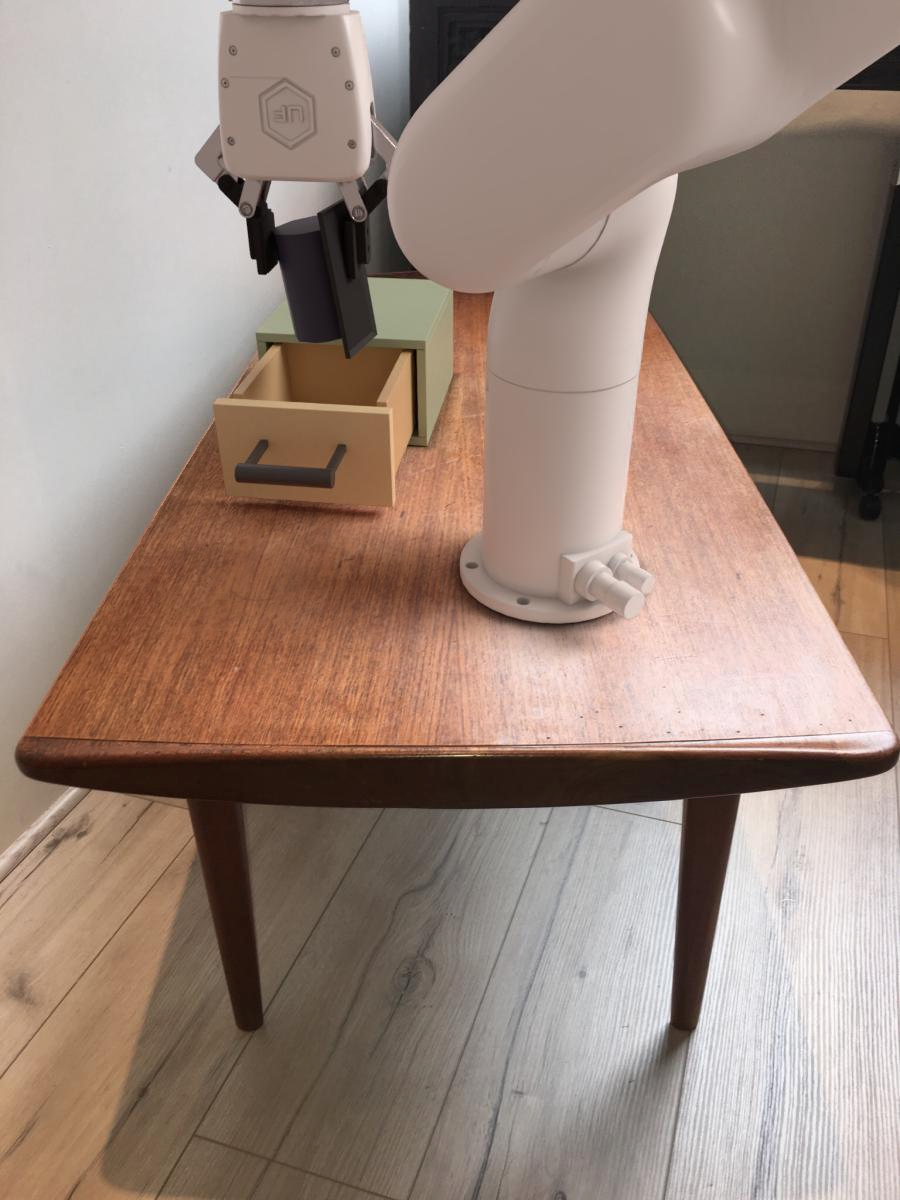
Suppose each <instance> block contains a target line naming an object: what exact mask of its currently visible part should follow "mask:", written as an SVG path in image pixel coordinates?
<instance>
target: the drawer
mask: <svg viewBox="0 0 900 1200" xmlns="http://www.w3.org/2000/svg"><path fill="white" fill-rule="evenodd" d="M212 408H213V409H212V410H213V415H214V422H215V428H216V429H215V430H216V436H217V442H218V449H219V456H220V463H221V470H222V476H223V483H224V491H225V496H226V497H233V498H247V499H248V498H249V499H250V498H251V499H261V500H262V499H263V500H264V499H265V500H278V501H279V500H280V501H293V502H294V501H295V502H308V503H321V504H335V505H336V504H339V505H351V506H364V507H365V506H366V507H379V508H381V507H382V508H394V506H395V504H396V500H397V493H396V492H397V491H396V474H397V472H398V469H399V467H400V464H401V461H402V460H403V458H404V454H405V452H406V450H407V447H408V446H409V445H408V442H409V440H410V437H411V435H412V432H413V430H414V427H415V425H416V422H417V375H416V349H403V348H383V347H363V348H362V349H361V350H360V351H359V352H358V353H357V354H356V355H354V356H353V357H352V358H351V359H346V357H345V352H344V347H343V345H323V344H303V343H282V342H274V344H273V345H272V346H271V347H270V349H269V350H268V351H267V352H266V354H265V355H264V356H263V357H262V358H261V360H260V361H259V360H258V362H257V363H256V364H255V366H254V367H253V368H252V369H251V370H250V372H249V373H248V374H247V376H246V377H245V378H244V379H243V380H242V381H241V383H240V385H238V387H237V388H236V389H235V390H234V391H233V393H232V398H229V397H217V398H216V400H215V401H214V402H213V403H212Z"/></svg>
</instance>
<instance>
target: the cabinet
mask: <svg viewBox="0 0 900 1200" xmlns="http://www.w3.org/2000/svg"><path fill="white" fill-rule="evenodd" d="M367 278H368V284H369V290H370V295H371V301H372V306H373V312H374V317H375V323H376V329H377V334H378V335H377V336H375V337H374V338H373V339H372V340H371V341H370V342H369V343H368V344H367V345H365V346H364V347H383V348H403V349H416V375H417V422H416V425H415V427H414V430H413V432H412V435H411V437H410V440H409V442H408V445H407V446H418V447H420V446H421V447H428V445H429V442H430V440H431V437H432V434H433V432H434V429H435V426H436V423H437V421H438V418H439V415H440V412H441V410H442V407H443V404H444V401H445V398H446V396H447V393H448V390H449V388H450V385H451V382H452V380H453V376H454V290H451V289H448V288H445V287H443V286H441V285H439V284H437V283H435V282H433V281H431V280H430V279H419V278H417V279H416V278H396V277H395V278H393V277H392V278H391V277H369V276H367ZM255 341H256V350H257V357H258V358H257V359H258V362H259V361H260V360H261V358H262V357H263V356H264V355H265V354H266V352H267V351H268V350H269V349H270V347H271V346H272V345H273V344H274V342H282V343H303V344H323V345H343V342H342V339H338V340H334V341H330V342H324V343H308V342H299V341H298V339H297V338H296V336H295V333H294V328H293V324H292V319H291V315H290V310H289V306H288V301H287V297H285V298H284V299H283V300H282V301H281V303H279V304H278V306H277V307H276V309H274V311H273V312H272V313H270V315H269V316H268V318H267V319H266V320H265V321H264V322H263V323H262V324H261V325H260V326H259V327H258V329H257V330H256V331H255Z"/></svg>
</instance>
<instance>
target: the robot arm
mask: <svg viewBox="0 0 900 1200" xmlns="http://www.w3.org/2000/svg"><path fill="white" fill-rule="evenodd" d="M228 2H231V10H225V11H220V12H219V17H218V18H219V19H218V33H217V34H218V35H217V94H218V95H217V97H218V98H217V99H218V118H219V124H218V125H217V127H216V128H215V129H214V131H213V132H212V133H211V135H209V137H208V139H207V140H206V141H205V142H204V144H203V145H202V147H200V149H199V150H198V152H197V153H196V154H195V156H194V164H195V165H196V167H198V169H199V170H200V171H201V172H202V173H203V174H205V175H206V177H208V179H210V180H211V181H212V182H213V183H215V184H216V185H217V187H218V189H219V191H220V192H221V193H222V194H223V195H224V196H225V197H226V198H227V199H228V200H230V202H232V204H233V205H234V206H235V207H236V208H237V209H238V210H237V211H238V213H239V215H240V216H241V217H243V218H245V223H246V233H247V240H248V241H247V242H248V249H249V250H248V251H249V257H250V259H251V260H252V261H253V260H254V261H255V262H256V263H255V264H256V271H257V275H259V276H267V275H268V274H269V273H270V272H272V270H273V269H274V268H275V267H276V266H277V265H278V264H279V261H278V256H277V251H276V247H275V242H274V238H273V233H272V230H273V229H274V228H275V227H276V221H275V212H274V211H273V210H272V208H269V205H268V202H267V199H268V196H269V192H270V189H271V185H272V182H273V181H274V182H299V183H300V182H301V183H302V182H303V183H335V184H336V185H337V188H338V190H339V192H340V195H341V197H342V198H343V199H344V201H345V204H346V206H347V209H348V219H347V220H346V221H345V223H344V244H345V261H346V274H347V276H348V277H349V278H350V279H357V278H358V276H359V275H360V274H361V272H362V271H363V269H364V264H365V265H369V264H370V263H371V260H372V243H371V223H370V215H371V214H372V213H373V211H374V210H375V209H376V208H377V207H378V206H379V205H380V204H381V203H382V202H383V200H384V199H385V198H386V202H387V211H388V217H389V222H390V227H391V229H392V232H393V233H392V234H393V235H394V238H395V240H396V242H397V245H398V247H399V248H400V250H401V252H402V253H403V255H404V257H405V258H406V259H407V260H408V262H409V263H410V264H411V265H412V266H413V268H414V269H416V270H417V271H418V272H419V273H420V274H421V275H422V276H423V277H426V279H427V280H431V281H433V282H435V283H437V284H439V285H441V286H443V287H445V288H448V289H451V290H453V292H454V291H455V292H459V293H466V294H487V293H493V295H492V301H491V306H490V310H489V315H488V324H487V333H486V353H485V354H486V355H485V358H486V359H485V382H484V384H485V385H484V386H485V388H484V389H485V390H484V391H485V392H484V430H483V431H484V435H483V438H484V439H483V480H482V481H483V482H482V483H483V484H482V485H483V487H482V488H483V489H482V530H481V531H479V532H478V533H476V534H475V535H473V536H472V537H471V538H470V539H469V541H467V542H466V543H465V545H464V547H463V549H462V550H461V553H460V558H459V576H460V579H461V581H462V585H463V586H464V588H465V589H466V590H467V592H468V593H469V594H470V595H471V596H472V597H473V598H474V599H475V600H477V602H479V603H480V604H482V605H484V606H485V607H487V608H489V609H491V610H492V611H494V612H497V613H500V614H503V615H504V616H507V617H510V618H514V619H518V620H522V621H525V622H526V621H527V622H533V623H540V624H571V623H573V624H574V623H580V622H584V621H585V622H586V621H590V620H594V619H597V618H600V617H603V616H606V615H608V614H611V613H612V612H614V613H616V614H617V615H619V616H620V617H622V618H624V619H625V620H628V621H630V620H633V619H635V618H636V617H638V615H640V613H642V611H643V609H644V606H645V603H646V596H645V595H647V594H649V593H650V592H652V590H653V589H654V588H655V585H656V583H657V578H656V576H655V575H654V574H653V573H650V572H649V571H647V570H645V569H643V568H642V567H641V566H640V562H639V558H638V556H637V554H636V553H635V551H634V550H633V540H634V535H633V534H632V533H630V532H628V531H626V530H624V529H623V521H624V513H625V504H626V495H627V486H628V478H629V470H630V469H629V468H630V459H631V451H632V444H633V443H632V442H633V433H634V424H635V415H636V405H637V399H638V398H637V397H638V388H639V380H640V372H641V366H642V359H643V358H642V357H643V350H644V349H643V348H644V341H645V332H646V327H647V326H646V325H647V318H648V313H649V312H648V311H649V306H650V299H651V294H652V291H653V285H654V279H655V274H656V271H657V268H658V267H657V266H658V263H659V259H660V256H661V252H662V248H663V245H664V242H665V238H666V235H667V230H668V227H669V223H670V220H671V216H672V212H673V208H674V204H675V199H676V195H677V194H676V193H677V188H678V180H679V174H680V173H682V172H686V171H690V170H692V169H696V168H699V167H702V166H705V165H708V164H711V163H715V162H718V161H722V160H723V159H724V160H725V159H726V158H730V157H732V156H734V155H737V154H740V153H743V152H746V151H748V150H750V149H754V147H757V146H759V145H761V144H762V143H764V142H766V141H767V140H769V139H770V138H771V137H773V136H774V135H776V134H777V133H778V132H780V131H781V130H782V129H783V128H785V127H786V126H787V125H789V124H790V123H791V122H793V121H794V120H795V119H796V118H798V117H799V116H801V115H802V114H803V113H804V112H806V111H807V110H808V109H810V108H811V107H812V106H814V105H815V104H816V103H818V102H819V101H820V100H822V99H823V98H824V97H826V96H827V95H829V94H830V93H832V92H833V91H835V90H836V89H837V88H839V87H840V86H842V85H843V84H844V83H845V84H846V82H848V81H849V80H850V79H852V78H853V77H856V75H858V74H859V73H861V72H862V71H863V70H865V69H866V68H868V67H870V66H871V65H872V64H874V63H875V62H877V61H878V60H879V59H881V58H882V57H884V56H885V55H887V54H888V53H890V52H891V51H893V50H894V49H896V48H897V47H898V46H900V0H519V1H518V2H517V3H516V4H515V5H514V6H513V7H512V8H511V10H510V11H508V12H507V14H506V15H504V17H502V18H501V20H500V21H498V23H497V24H496V25H495V26H494V27H493V28H492V29H491V30H490V31H489V33H487V34H486V35H485V37H484V38H483V39H482V40H481V41H480V42H479V43H478V44H477V45H476V46H475V47H474V48H473V49H472V50H471V51H470V52H469V53H468V54H467V55H466V57H464V59H462V61H460V62H459V64H458V65H457V66H456V67H455V68H454V69H452V71H451V72H450V73H449V74H448V75H447V76H446V77H445V78H444V80H442V82H441V83H440V84H438V86H436V88H435V89H434V90H433V91H432V92H430V94H429V95H428V96H427V98H426V99H425V100H423V102H422V104H420V105H419V107H418V108H417V110H415V112H414V114H413V115H412V117H411V118H410V120H409V121H408V122H407V124H406V126H405V128H404V129H403V130H402V132H401V135H400V137H399V139H398V141H397V140H396V139H395V138H394V136H392V134H391V133H390V132H389V131H388V130H387V129H386V127H385V126H384V125H383V124H382V123H381V122H380V121H379V120H378V119H377V115H376V103H375V97H374V87H373V79H372V73H371V65H370V64H371V63H370V57H369V51H368V45H367V39H366V35H365V30H364V25H363V22H362V21H363V20H362V17H361V13H360V11H359V10H356V9H351V3H350V0H228ZM377 156H379V157H380V158H381V159H382V160H383V161H384V163H385V170H384V171H383V172H382V173H381V174H380V175H379V177H377V178H376V180H375V181H374V182H373V183H372V184H371V185H370V186H369V185H368V184H367V181H366V178H365V176H364V174H365V173H366V171H368V170H369V168H370V167H371V166H373V165H374V164H375V162H376V160H377Z"/></svg>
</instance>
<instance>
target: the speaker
mask: <svg viewBox="0 0 900 1200" xmlns="http://www.w3.org/2000/svg"><path fill="white" fill-rule="evenodd" d="M347 219H348V209H347V206H346V204H345V201H344V199H343V197H342V198H341V199H339V200H337V201H335V202H334V203H332V204H330V205H328V206H327V207H325V208H323V209H322V210H320V211H318V212H317V213H316V215H311V216H307V217H302V218H298V219H293V220H290V221H287V222H285V223H282V224H280V225H277V226H275V228H274V229H273V230H272V233H273V238H274V242H275V247H276V251H277V256H278V264H279V271H280V273H281V280H282V283H283V287H284V292H285V296H286V297H287V301H288V306H289V310H290V315H291V319H292V324H293V328H294V333H295V336H296V338H297V339H298V341H299V342H308V343H324V342H330V341H334V340H338V339H342V342H343V347H344V352H345V357H346V359H351V358H352V357H353V356H354V355H356V354H357V353H358V352H359V351H360V350H361V349H362V348H363V347H364V346H365V345H367V344H368V343H369V342H370V341H371V340H372V339H373V338H374V337H375V336H377V335H378V334H377V329H376V323H375V317H374V312H373V306H372V301H371V295H370V290H369V284H368V278H367V277H368V274H367V268H366V264H364V269H363V271H362V272H361V274H360V275H359V276H358V278H357V279H350V278H349V277H348V276H347V274H346V261H345V244H344V223H345V221H346V220H347ZM286 297H285V298H286Z"/></svg>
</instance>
